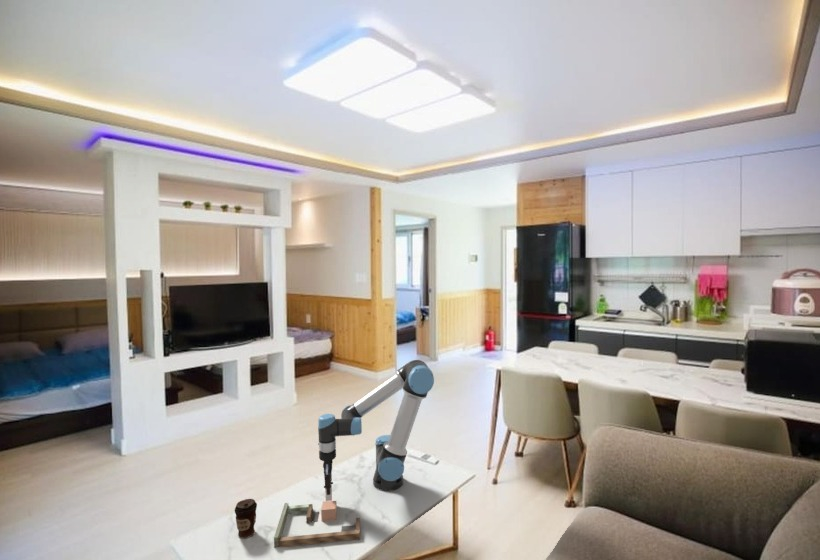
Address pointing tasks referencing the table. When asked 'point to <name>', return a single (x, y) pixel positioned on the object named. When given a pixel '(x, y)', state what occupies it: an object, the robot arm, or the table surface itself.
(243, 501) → the coffee cup
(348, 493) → the table surface
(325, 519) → the block
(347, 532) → the trap box
